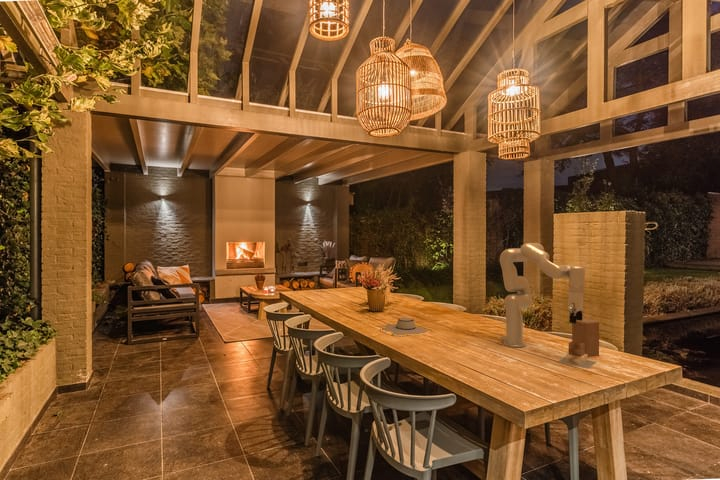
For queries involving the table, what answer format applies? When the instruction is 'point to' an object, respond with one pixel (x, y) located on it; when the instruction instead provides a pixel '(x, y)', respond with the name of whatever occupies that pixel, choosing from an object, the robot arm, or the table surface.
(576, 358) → the birch base brick
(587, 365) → the grey flat square
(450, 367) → the table surface
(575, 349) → the walnut cube
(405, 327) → the sun hat
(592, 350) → the wooden block
